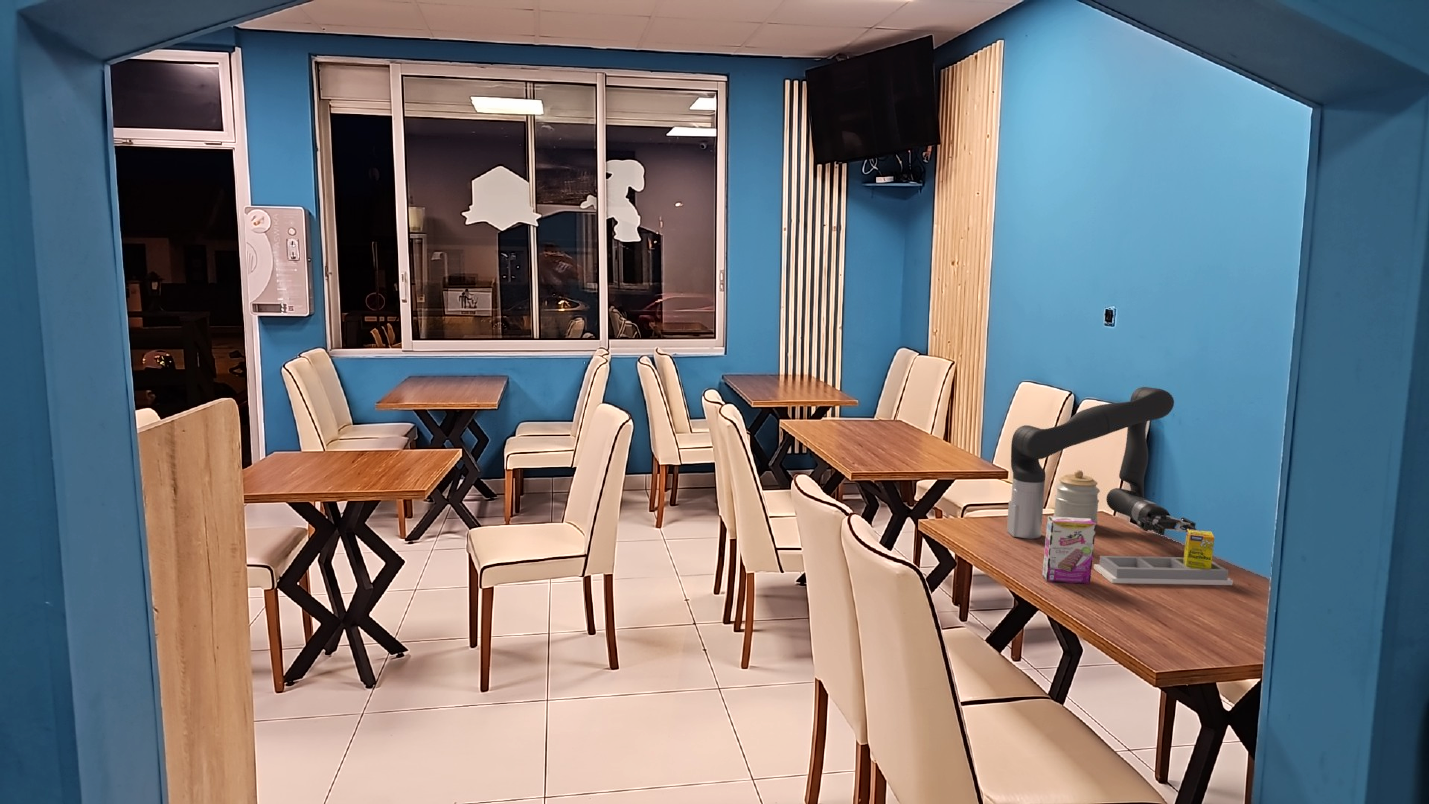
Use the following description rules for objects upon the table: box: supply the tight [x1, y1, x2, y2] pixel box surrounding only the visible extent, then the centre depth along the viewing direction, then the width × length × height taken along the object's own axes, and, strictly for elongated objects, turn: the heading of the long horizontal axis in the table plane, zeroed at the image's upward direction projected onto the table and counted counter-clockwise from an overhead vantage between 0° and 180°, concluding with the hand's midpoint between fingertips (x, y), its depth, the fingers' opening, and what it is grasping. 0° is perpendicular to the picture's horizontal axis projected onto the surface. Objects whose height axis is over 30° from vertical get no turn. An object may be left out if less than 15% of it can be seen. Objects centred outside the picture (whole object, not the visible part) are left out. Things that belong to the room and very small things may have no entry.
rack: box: [1093, 555, 1234, 586], centre depth 236 cm, size 31×11×4 cm, turn 90°
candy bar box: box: [1041, 515, 1097, 584], centre depth 231 cm, size 11×5×16 cm, turn 84°
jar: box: [1053, 469, 1101, 525], centre depth 282 cm, size 13×13×18 cm
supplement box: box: [1183, 529, 1215, 569], centre depth 235 cm, size 6×6×11 cm
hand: (1178, 532), depth 245 cm, fingers open, 8 cm apart
